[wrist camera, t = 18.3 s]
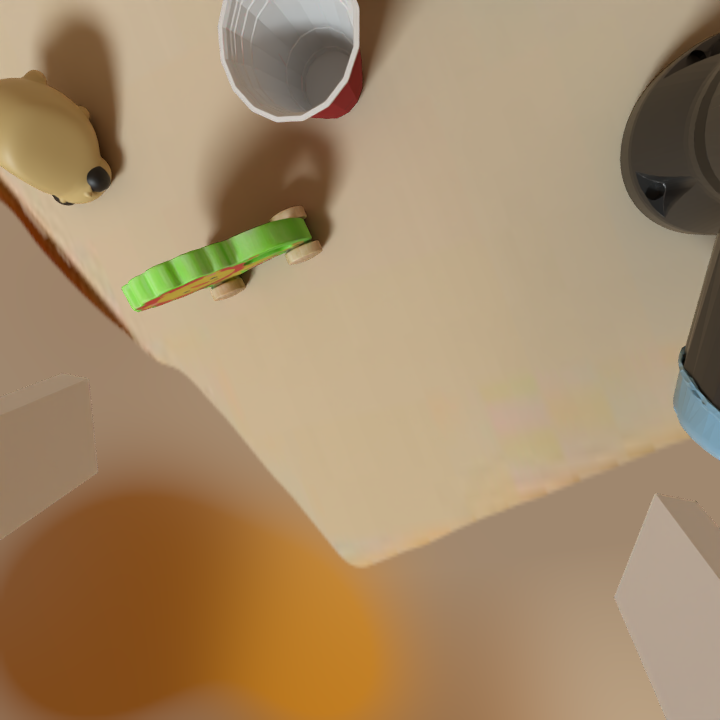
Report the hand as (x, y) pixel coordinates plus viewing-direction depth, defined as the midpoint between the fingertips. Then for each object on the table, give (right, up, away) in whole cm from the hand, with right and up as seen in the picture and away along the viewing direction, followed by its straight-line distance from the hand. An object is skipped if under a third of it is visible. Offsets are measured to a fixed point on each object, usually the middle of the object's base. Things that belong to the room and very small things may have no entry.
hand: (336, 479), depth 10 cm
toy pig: (-30, +26, +38) cm, 55 cm away
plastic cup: (-2, +29, +31) cm, 42 cm away
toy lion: (-11, +14, +38) cm, 42 cm away
